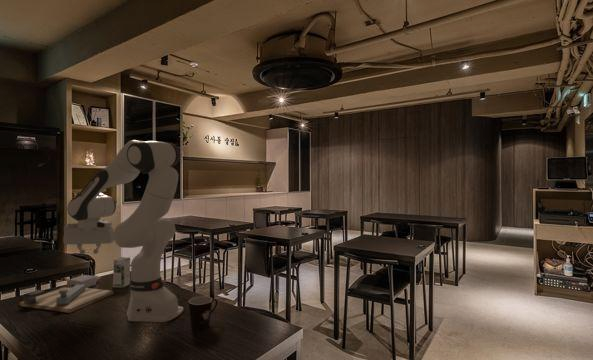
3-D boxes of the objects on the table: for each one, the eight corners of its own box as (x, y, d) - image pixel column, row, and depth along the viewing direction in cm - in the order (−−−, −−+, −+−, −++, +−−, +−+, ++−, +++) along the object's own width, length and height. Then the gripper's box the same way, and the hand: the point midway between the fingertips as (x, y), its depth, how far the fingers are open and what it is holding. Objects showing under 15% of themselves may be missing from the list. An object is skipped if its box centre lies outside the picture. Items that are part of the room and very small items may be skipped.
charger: (106, 281, 179) (81, 290, 164) (92, 280, 181) (66, 288, 167) (106, 272, 179) (81, 281, 164) (92, 271, 181) (66, 279, 167)
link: (67, 304, 141) (67, 298, 141) (53, 305, 140) (53, 299, 140) (86, 289, 160) (86, 284, 160) (75, 289, 159) (75, 284, 159)
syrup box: (112, 287, 169) (112, 258, 169) (120, 283, 175) (120, 256, 175) (122, 288, 168) (123, 259, 168) (130, 284, 174) (130, 256, 174)
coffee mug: (190, 333, 121) (190, 306, 121) (186, 324, 128) (186, 298, 128) (222, 327, 126) (222, 301, 126) (216, 318, 134) (216, 293, 134)
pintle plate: (113, 294, 160) (113, 279, 160) (69, 313, 137) (69, 296, 137) (67, 288, 166) (68, 274, 166) (18, 306, 144) (18, 289, 143)
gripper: (60, 224, 147) (60, 255, 147) (111, 223, 151) (110, 254, 151) (67, 222, 153) (67, 252, 153) (115, 222, 157) (115, 251, 157)
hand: (89, 253), depth 152 cm, fingers open, 4 cm apart
